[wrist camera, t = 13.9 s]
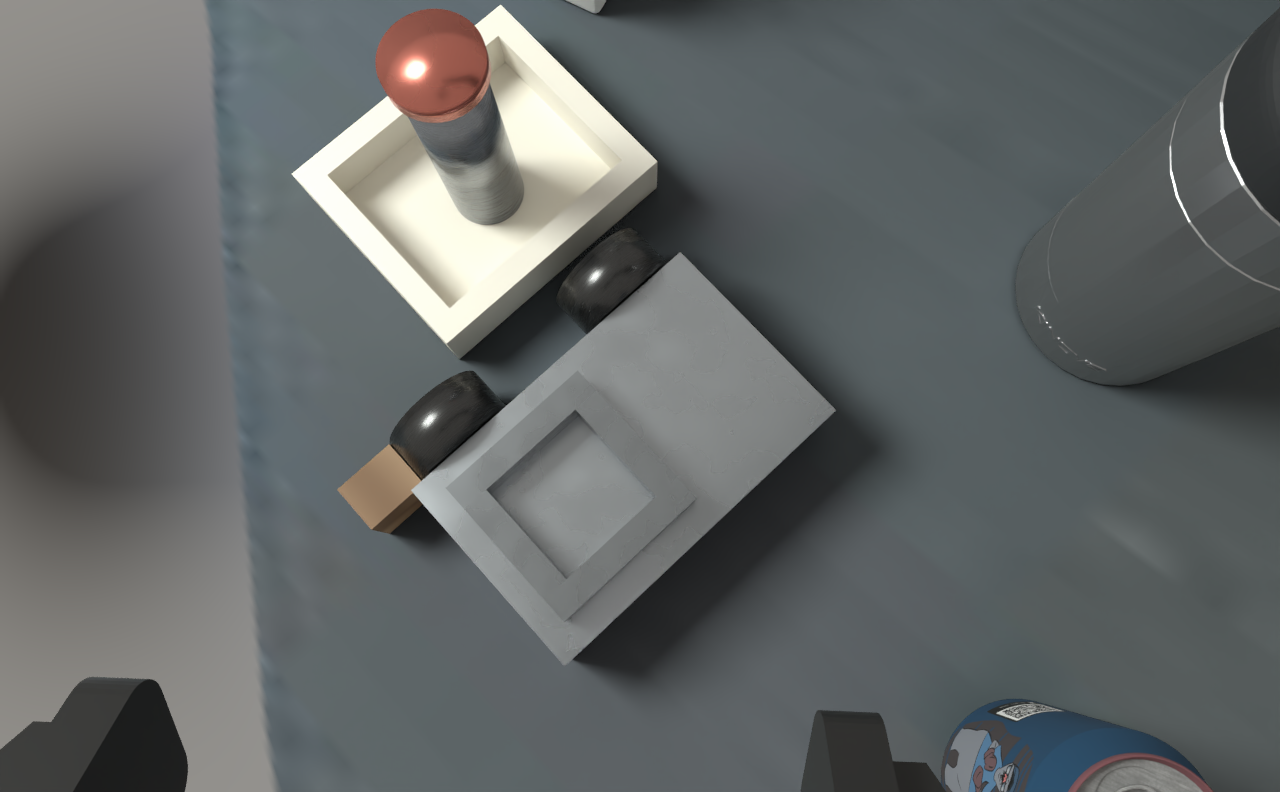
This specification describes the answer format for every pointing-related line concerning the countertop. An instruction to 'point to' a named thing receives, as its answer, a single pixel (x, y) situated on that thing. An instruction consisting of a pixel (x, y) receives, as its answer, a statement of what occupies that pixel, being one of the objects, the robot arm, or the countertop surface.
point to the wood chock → (383, 491)
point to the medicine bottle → (589, 4)
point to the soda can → (1058, 754)
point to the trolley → (609, 442)
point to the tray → (444, 239)
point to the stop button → (453, 110)
